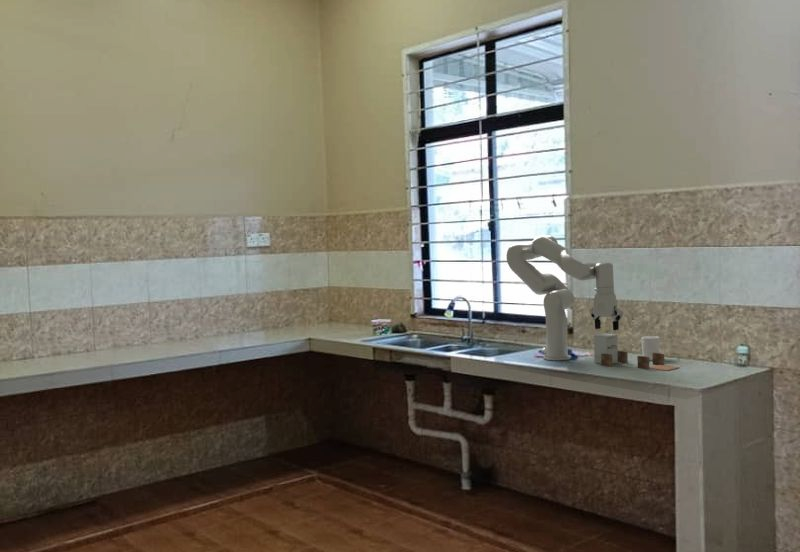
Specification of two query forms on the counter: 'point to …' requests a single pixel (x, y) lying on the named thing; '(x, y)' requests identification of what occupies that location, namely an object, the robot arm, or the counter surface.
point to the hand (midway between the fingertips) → (606, 329)
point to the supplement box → (605, 347)
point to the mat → (663, 367)
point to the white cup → (650, 346)
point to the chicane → (642, 360)
